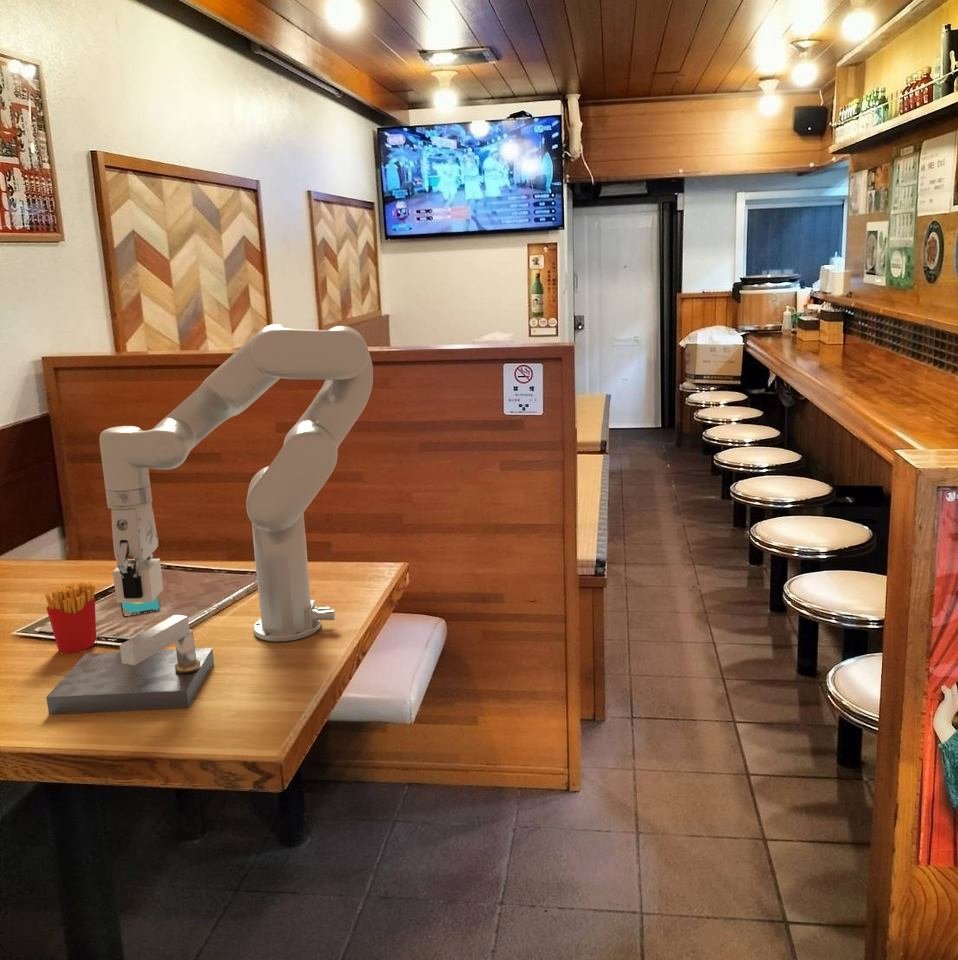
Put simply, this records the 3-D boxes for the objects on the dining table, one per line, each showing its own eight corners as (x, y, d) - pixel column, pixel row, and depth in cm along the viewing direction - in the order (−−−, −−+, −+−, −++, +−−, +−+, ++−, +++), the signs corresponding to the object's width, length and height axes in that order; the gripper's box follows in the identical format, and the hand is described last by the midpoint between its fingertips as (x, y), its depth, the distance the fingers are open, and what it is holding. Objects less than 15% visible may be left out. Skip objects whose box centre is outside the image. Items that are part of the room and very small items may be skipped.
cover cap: (163, 589, 171) (160, 558, 169) (152, 601, 165) (148, 570, 163) (128, 590, 171) (125, 559, 169) (116, 602, 165) (112, 571, 163)
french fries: (57, 657, 166) (47, 594, 163) (51, 650, 169) (41, 589, 166) (105, 643, 171) (96, 583, 168) (98, 637, 174) (90, 577, 171)
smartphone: (154, 585, 199) (161, 608, 186) (154, 588, 199) (161, 611, 186) (118, 592, 196) (123, 615, 183) (119, 595, 197) (123, 619, 183)
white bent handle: (186, 660, 155) (180, 609, 152) (205, 664, 153) (199, 612, 151) (123, 699, 142) (115, 644, 140) (143, 703, 140) (136, 647, 138)
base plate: (214, 663, 161) (212, 647, 160) (188, 707, 145) (186, 690, 144) (88, 669, 160) (85, 653, 160) (49, 714, 145) (46, 697, 144)
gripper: (134, 508, 155) (145, 607, 159) (165, 483, 172) (174, 574, 176) (89, 510, 155) (102, 609, 159) (124, 484, 171) (135, 575, 176)
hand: (140, 589), depth 167 cm, fingers closed on cover cap, 6 cm apart
